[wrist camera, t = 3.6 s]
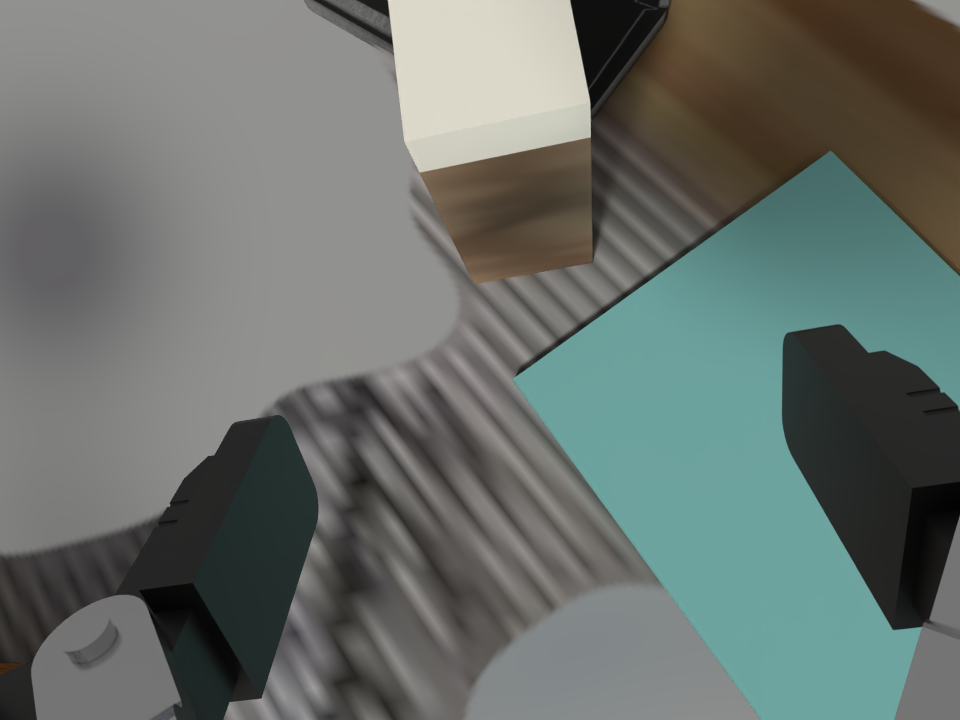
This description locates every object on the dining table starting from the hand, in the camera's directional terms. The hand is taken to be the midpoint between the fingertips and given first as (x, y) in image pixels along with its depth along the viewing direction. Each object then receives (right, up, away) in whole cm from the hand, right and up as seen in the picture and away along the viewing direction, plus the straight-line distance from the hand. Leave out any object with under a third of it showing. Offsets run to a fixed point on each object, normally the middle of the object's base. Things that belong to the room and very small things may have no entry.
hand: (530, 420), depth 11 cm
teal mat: (+11, -3, +11) cm, 16 cm away
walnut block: (+1, +6, +15) cm, 17 cm away
